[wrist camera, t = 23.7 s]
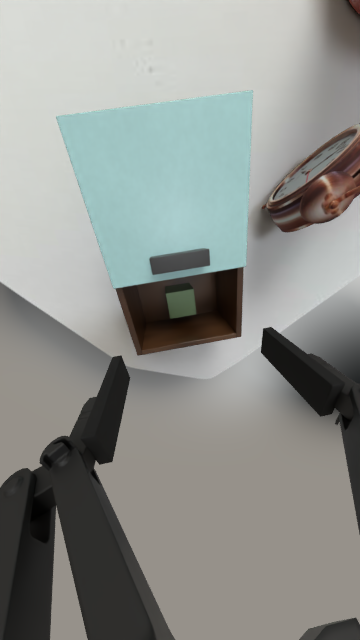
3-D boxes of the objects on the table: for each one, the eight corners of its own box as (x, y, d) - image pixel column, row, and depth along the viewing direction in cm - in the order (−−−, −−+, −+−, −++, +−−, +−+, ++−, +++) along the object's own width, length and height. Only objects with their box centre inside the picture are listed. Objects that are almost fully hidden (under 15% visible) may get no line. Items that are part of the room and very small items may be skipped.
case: (143, 325, 33) (137, 355, 24) (123, 251, 27) (104, 256, 18) (219, 311, 34) (241, 336, 25) (217, 236, 27) (244, 234, 18)
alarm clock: (306, 151, 24) (495, 33, 10) (319, 181, 26) (496, 112, 12) (247, 214, 26) (337, 186, 13) (263, 237, 28) (356, 233, 15)
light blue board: (114, 287, 19) (107, 295, 17) (59, 120, 13) (33, 89, 11) (243, 265, 20) (256, 269, 17) (249, 95, 14) (271, 59, 11)
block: (169, 309, 31) (170, 319, 27) (164, 286, 29) (165, 293, 25) (191, 305, 32) (196, 314, 27) (189, 282, 30) (193, 288, 25)
